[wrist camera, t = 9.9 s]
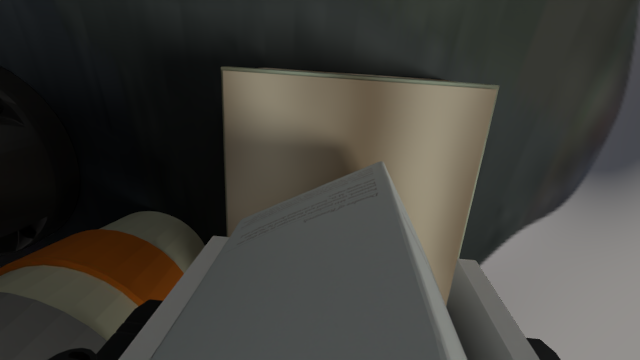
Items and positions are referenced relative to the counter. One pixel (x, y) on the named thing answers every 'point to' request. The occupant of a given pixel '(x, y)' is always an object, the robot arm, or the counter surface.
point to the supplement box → (320, 284)
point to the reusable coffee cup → (90, 284)
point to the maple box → (357, 144)
